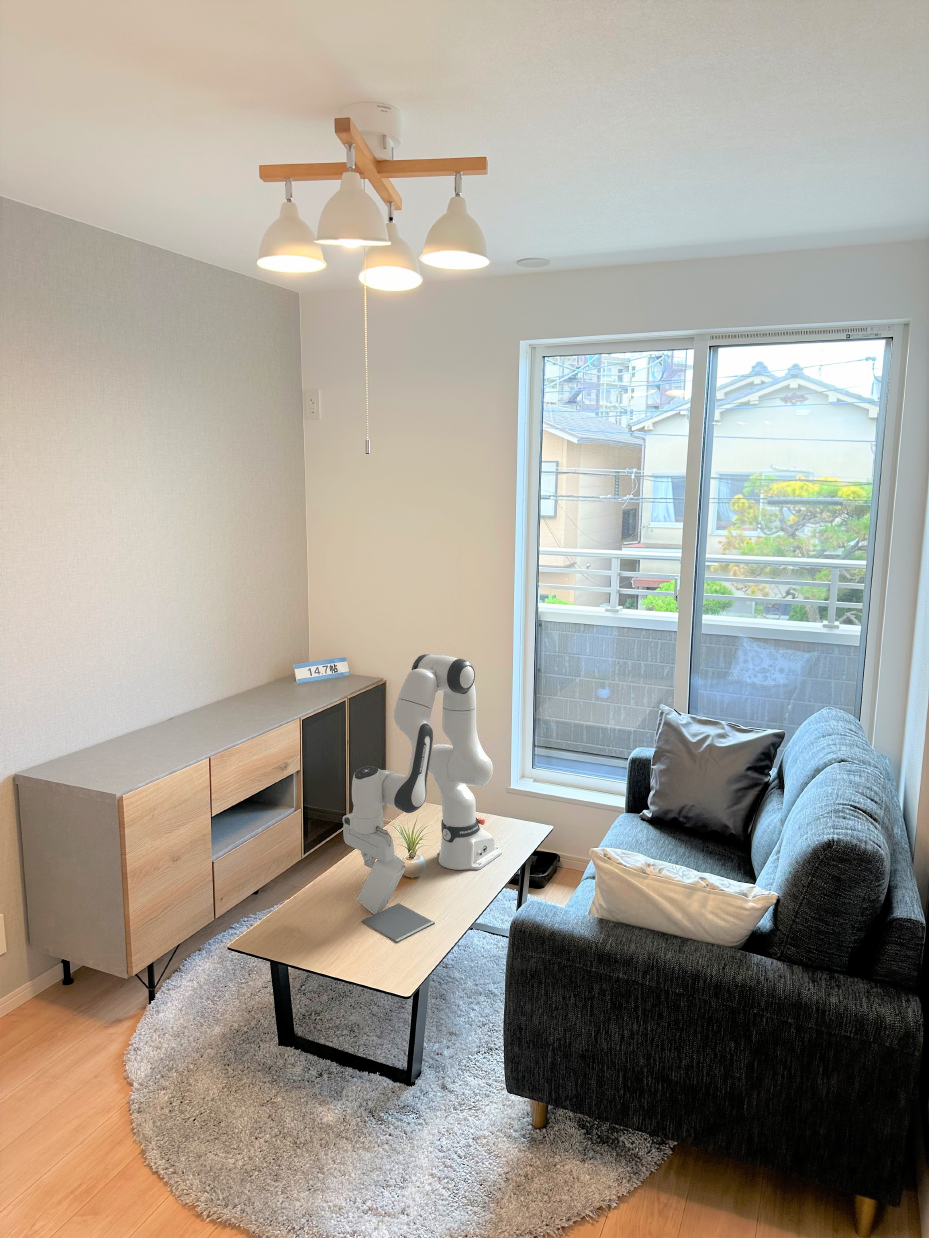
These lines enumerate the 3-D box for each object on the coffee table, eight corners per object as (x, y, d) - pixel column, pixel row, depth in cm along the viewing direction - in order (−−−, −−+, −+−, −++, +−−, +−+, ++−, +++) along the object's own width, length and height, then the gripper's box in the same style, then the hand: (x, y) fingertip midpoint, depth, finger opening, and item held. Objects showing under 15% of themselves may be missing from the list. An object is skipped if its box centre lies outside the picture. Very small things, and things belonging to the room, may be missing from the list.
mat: (398, 904, 249) (398, 902, 249) (434, 923, 238) (434, 921, 238) (361, 921, 239) (361, 920, 239) (397, 942, 228) (397, 941, 228)
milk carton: (374, 915, 243) (398, 867, 236) (356, 900, 245) (379, 852, 239) (387, 904, 249) (411, 857, 243) (369, 889, 251) (392, 842, 245)
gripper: (399, 829, 238) (400, 874, 240) (355, 809, 252) (357, 852, 255) (381, 835, 233) (383, 881, 236) (338, 815, 248) (340, 859, 250)
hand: (369, 866), depth 245 cm, fingers closed
